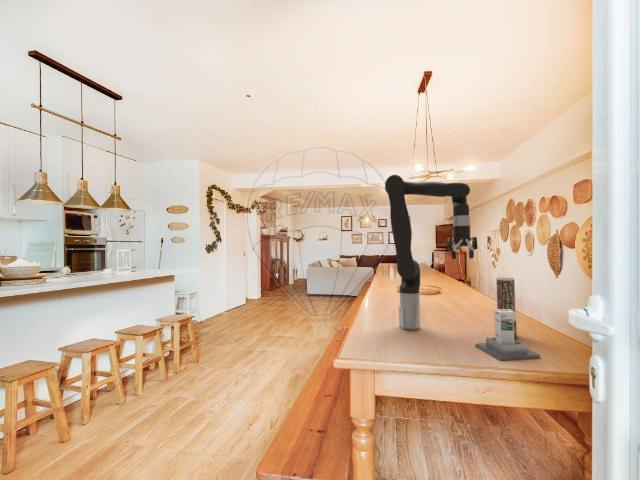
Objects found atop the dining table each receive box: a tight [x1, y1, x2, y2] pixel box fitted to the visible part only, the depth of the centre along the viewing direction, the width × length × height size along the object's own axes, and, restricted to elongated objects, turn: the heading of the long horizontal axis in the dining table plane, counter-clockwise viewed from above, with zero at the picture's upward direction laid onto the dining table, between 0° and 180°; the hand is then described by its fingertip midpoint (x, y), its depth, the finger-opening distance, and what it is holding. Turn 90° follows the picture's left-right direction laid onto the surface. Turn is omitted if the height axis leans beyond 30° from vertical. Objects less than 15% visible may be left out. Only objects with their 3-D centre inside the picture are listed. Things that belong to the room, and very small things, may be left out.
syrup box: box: [493, 308, 518, 345], centre depth 120 cm, size 6×6×14 cm
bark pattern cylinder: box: [495, 276, 516, 312], centre depth 140 cm, size 7×7×25 cm
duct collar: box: [475, 336, 541, 362], centre depth 120 cm, size 15×15×4 cm
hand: (462, 258), depth 154 cm, fingers open, 8 cm apart
